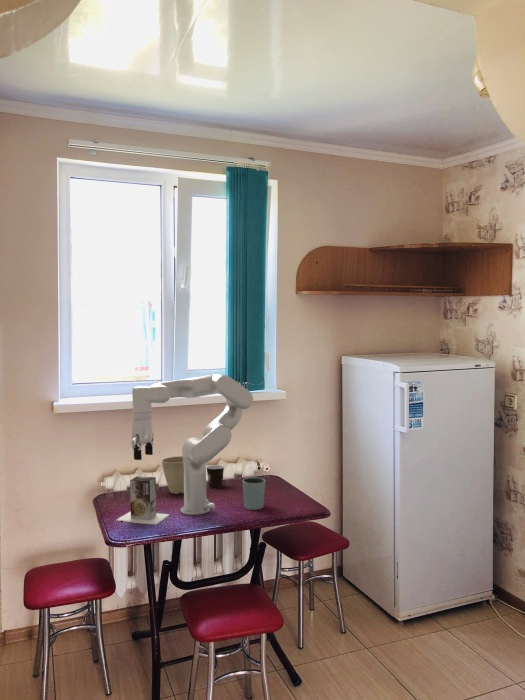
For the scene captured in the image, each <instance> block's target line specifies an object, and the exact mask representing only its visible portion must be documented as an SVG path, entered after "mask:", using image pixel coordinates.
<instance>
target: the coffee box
mask: <svg viewBox="0 0 525 700" xmlns="http://www.w3.org/2000/svg"><path fill="white" fill-rule="evenodd" d="M156 481H157V480H156V476H134V477H133V478H132V479H130V480H129V489H130V492H129V495H130V511H131V519H150V520H151V519H152V518H153V517H155V516H156V513H157V486H156V485H157V484H156Z"/></svg>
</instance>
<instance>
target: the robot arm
mask: <svg viewBox="0 0 525 700" xmlns="http://www.w3.org/2000/svg"><path fill="white" fill-rule="evenodd" d="M216 394H217V395H218V394H219V395H221V396H222V397H224V398H225V402H226V403H225V408H224V409H223V410H222V412H221V413H220V414H219V415H218V416H216V417H215V418H214V419H212V420H211V422H209V423H208V424H207V425H206V426H205V427H204V428H203V430H202V437H203V438H198V437H193V436H192V437H189V438H187V439H186V440H185V441H184V442H183V444H182V448H181V449H182V451H181V453H182V455H181V456H183V463H184V493H183V506H182V507H180V513H182V514H184V515H188V516H199V515H203V514H207V513H209V512H210V511H211V510H214V509H215V508H216V504H215V503H214V502H210V501H209V499H207V466H206V464H207V463H209V462H210V461H211V460H212V459H214V458H215V457H216V456H217V455H218V454H219V453H220V452H221V451H224V449H225V448H226V447H227V446H228V445H229V443H230V442H231V440H232V430H233V429H234V428H235V427H236V426H237V425H238V424H239V422H240V421H241V420H242V417H243V410H246V409H247V410H248V409H249V408H250V407H252V405H253V403H254V402H253V401H254V396H253V394H252V392H250V390H249V389H248V388H245V387H244V386H243V385H242V384H240V383H238V382H237V381H236V380H234V379H233V378H231V377H230V376H229V375H226V374H221V373H214V374H208V375H202V376H197V377H190V378H183V379H175V380H169V381H162V382H158V383H157V382H156V383H152V384H151V385H150V386H148V385H137V386H134V387H132V395H131V396H132V427H131V441H130V443H131V446H132V451H133V460H135V461H141V460H142V459H143V458H142V449H141V448H142V446H143V445H144V454H145V455H146V456H152V455H154V453H153V445H154V442H153V441H154V436H155V433H154V432H153V423H152V416H153V413H152V404H164V403H167V402H169V400H170V399H173V398H174V399H176V398H177V399H178V398H186V399H194V398H200V397H204V396H209V395H216Z"/></svg>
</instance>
